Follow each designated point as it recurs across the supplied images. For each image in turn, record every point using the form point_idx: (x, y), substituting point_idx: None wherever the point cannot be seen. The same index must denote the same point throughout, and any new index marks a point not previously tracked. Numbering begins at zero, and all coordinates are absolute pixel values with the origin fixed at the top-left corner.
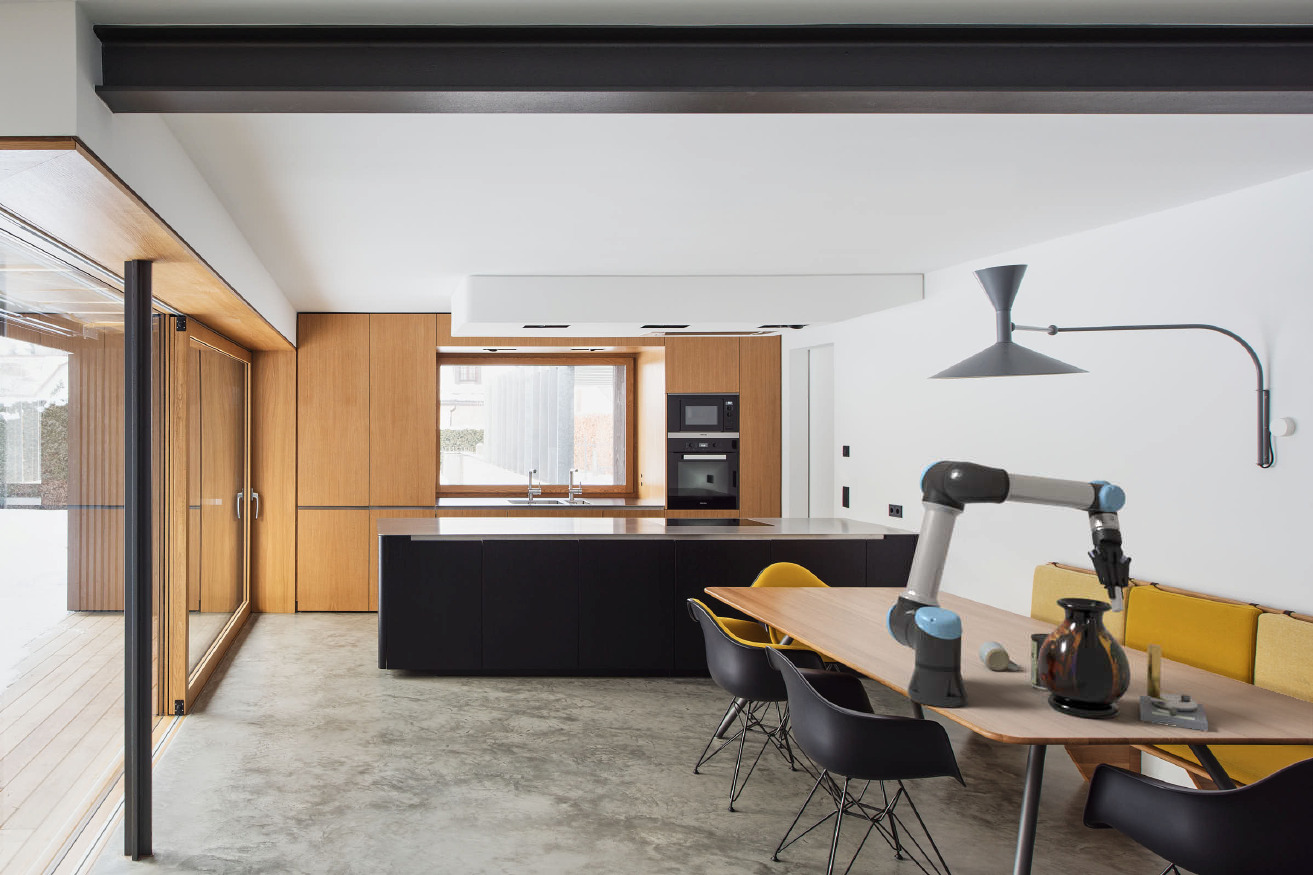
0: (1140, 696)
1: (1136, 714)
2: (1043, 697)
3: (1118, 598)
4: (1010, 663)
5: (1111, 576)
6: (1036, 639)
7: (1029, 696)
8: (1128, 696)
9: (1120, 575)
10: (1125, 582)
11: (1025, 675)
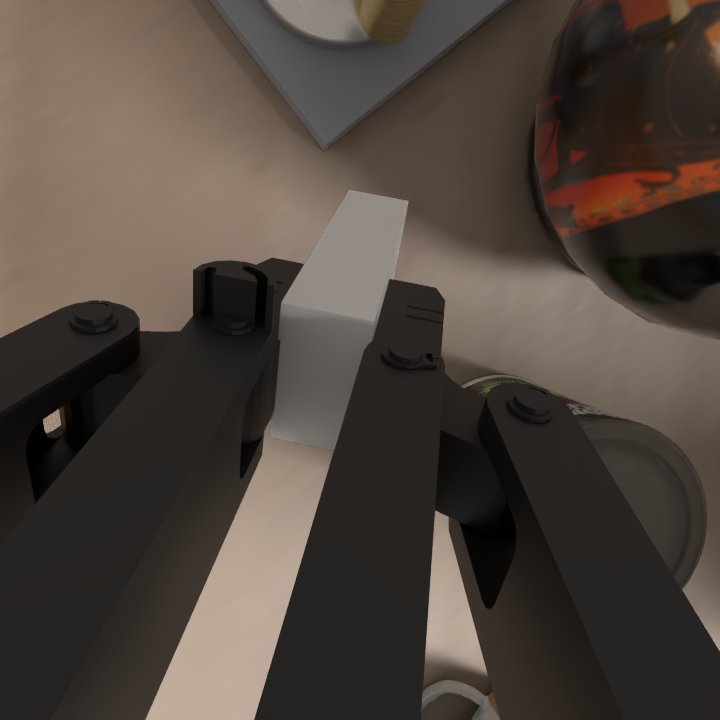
0: (341, 127)
1: (488, 37)
2: (645, 338)
3: (385, 243)
4: (479, 700)
5: (414, 452)
6: (702, 527)
7: (685, 365)
8: (287, 236)
9: (122, 447)
10: (89, 344)
11: (453, 614)
